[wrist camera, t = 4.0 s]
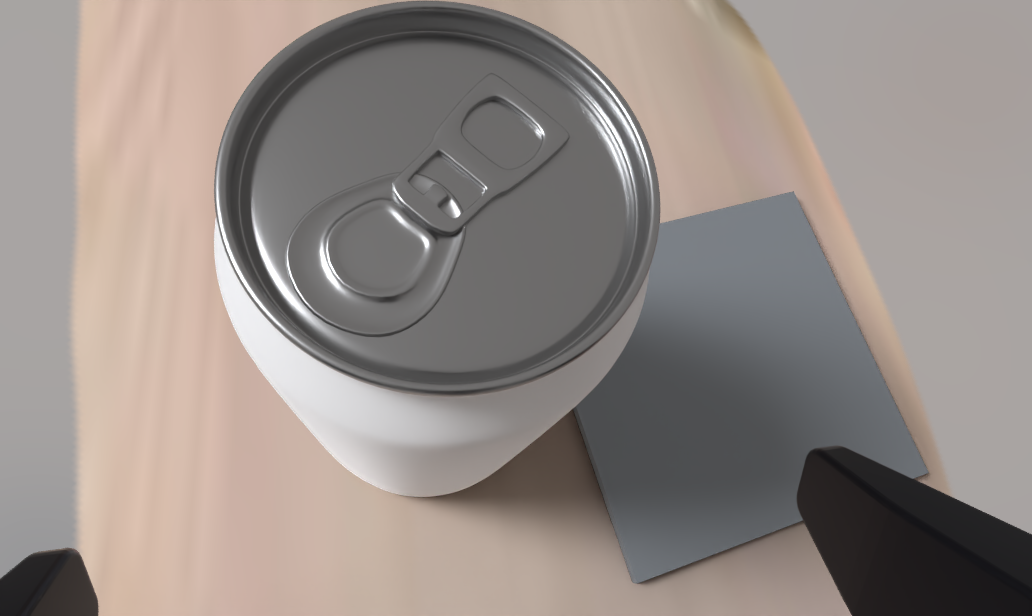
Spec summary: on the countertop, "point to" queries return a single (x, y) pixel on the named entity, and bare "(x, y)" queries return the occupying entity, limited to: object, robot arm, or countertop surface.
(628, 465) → the mat
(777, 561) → the countertop surface
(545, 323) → the can
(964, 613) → the robot arm
